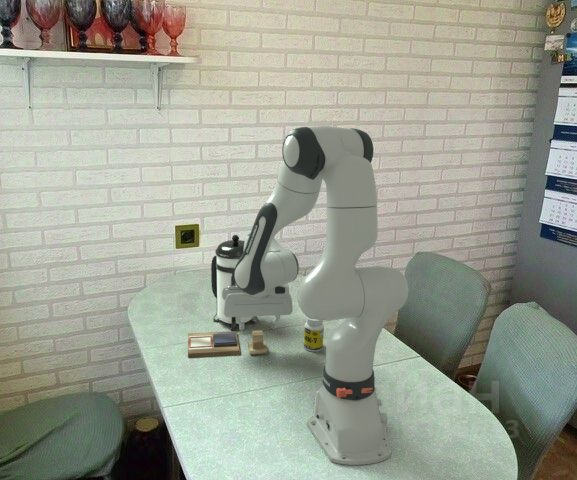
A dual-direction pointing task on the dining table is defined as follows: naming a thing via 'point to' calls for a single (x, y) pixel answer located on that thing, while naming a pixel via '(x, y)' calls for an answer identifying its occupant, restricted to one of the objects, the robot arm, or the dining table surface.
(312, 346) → the supplement bottle
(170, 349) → the dining table surface
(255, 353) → the stamp
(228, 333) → the station board
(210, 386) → the dining table surface
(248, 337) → the dining table surface
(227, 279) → the coffee press
